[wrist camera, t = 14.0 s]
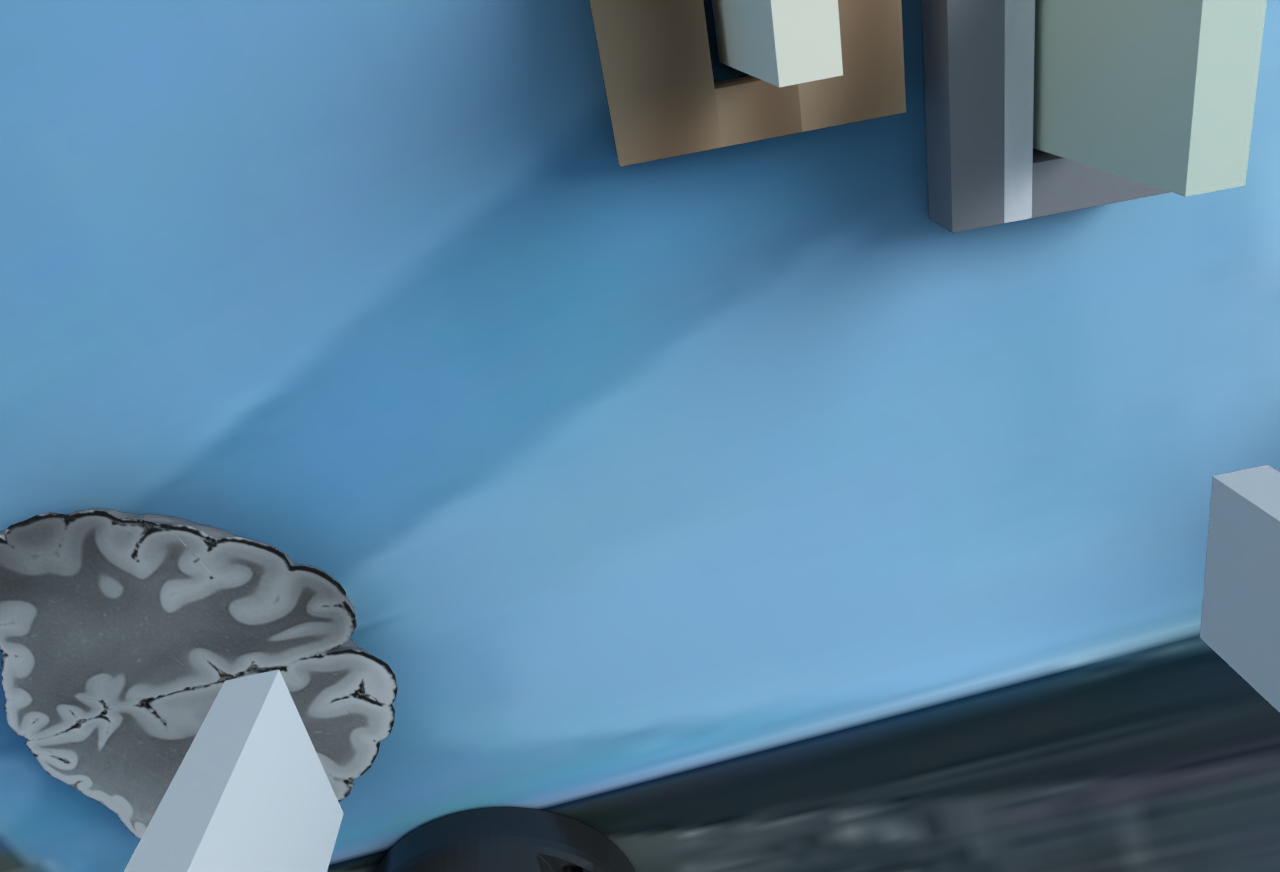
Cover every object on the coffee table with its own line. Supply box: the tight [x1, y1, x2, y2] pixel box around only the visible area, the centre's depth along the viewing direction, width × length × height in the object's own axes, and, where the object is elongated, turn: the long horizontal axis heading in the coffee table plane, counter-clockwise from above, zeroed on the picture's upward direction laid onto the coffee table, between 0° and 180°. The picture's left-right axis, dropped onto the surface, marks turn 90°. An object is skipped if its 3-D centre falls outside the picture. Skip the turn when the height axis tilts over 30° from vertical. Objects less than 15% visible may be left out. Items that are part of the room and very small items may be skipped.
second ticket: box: [1033, 0, 1267, 197], centre depth 28 cm, size 2×7×11 cm, turn 10°
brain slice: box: [0, 508, 397, 840], centre depth 41 cm, size 20×17×3 cm
